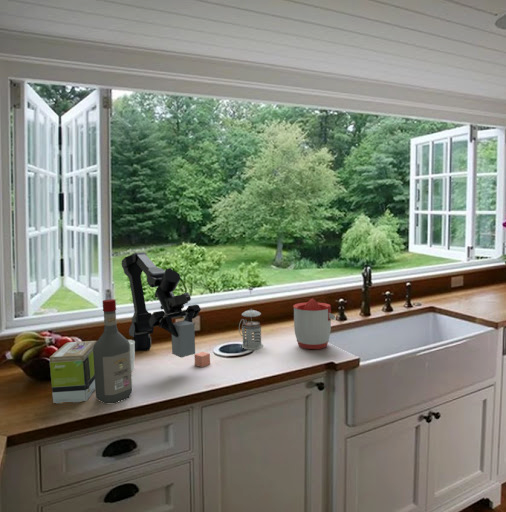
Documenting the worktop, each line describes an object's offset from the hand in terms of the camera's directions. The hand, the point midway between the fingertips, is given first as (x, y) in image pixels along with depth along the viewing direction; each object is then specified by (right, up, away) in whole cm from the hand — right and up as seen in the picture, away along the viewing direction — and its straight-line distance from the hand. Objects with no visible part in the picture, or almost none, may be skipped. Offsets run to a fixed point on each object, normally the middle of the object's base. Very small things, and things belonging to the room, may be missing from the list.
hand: (185, 334), depth 145 cm
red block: (+5, -13, +9) cm, 17 cm away
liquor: (-19, -16, -18) cm, 30 cm away
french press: (+23, -11, +30) cm, 39 cm away
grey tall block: (-1, -7, +2) cm, 7 cm away
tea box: (-31, -16, -14) cm, 38 cm away
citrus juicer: (+49, -10, +28) cm, 58 cm away
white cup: (-23, -14, +6) cm, 27 cm away
